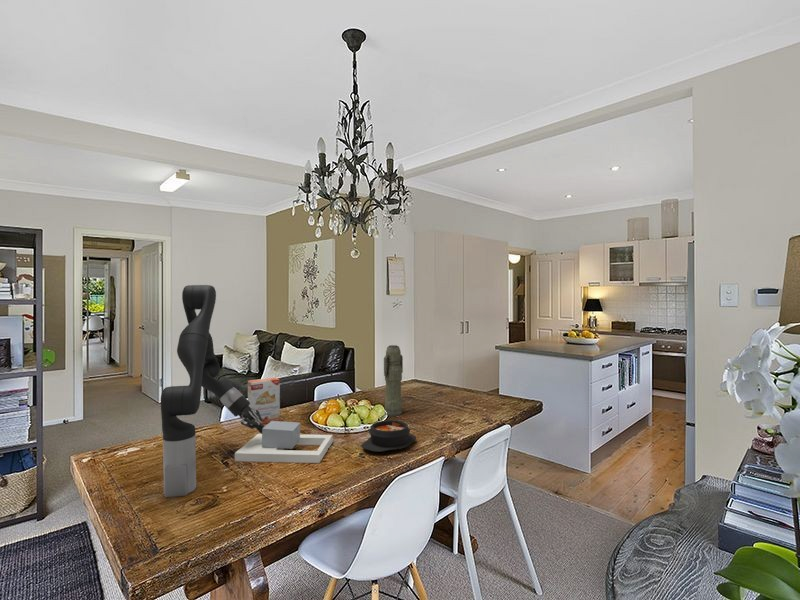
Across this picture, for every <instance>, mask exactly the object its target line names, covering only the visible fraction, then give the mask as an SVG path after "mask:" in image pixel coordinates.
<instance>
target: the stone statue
mask: <svg viewBox="0 0 800 600" xmlns="http://www.w3.org/2000/svg"><path fill="white" fill-rule="evenodd" d="M401 353H402V352H401V348H400V346H399V345H397V344H395V345H393V344H392V345H388V346H387V347H386V350H385V355H384V357H383V376H384V381H385V400H384V409H385V410H386V412H387V414H388V415H387V416H390V417H394V416H395V417H397V416H401V415H402V413H403V412H402V410H403V399H402V380H403V372H404V371H403V369H404V367H403V365H404V364H403V360H404V359H403V355H402V354H401Z"/></svg>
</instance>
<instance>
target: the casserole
mask: <svg viewBox="0 0 800 600" xmlns="http://www.w3.org/2000/svg"><path fill="white" fill-rule="evenodd" d="M368 433H369V434H370V437H368V439H367V440H366V441H364V442H362V443H361V447H362V448H363V449H365V450H367V451H371V452H373V453H374V452H375V453H382V452H384V453H385V452H387V451H397V449H398V450H401V449H405V448H408V447H409V446H411V445H412V443H413V442H414V441H415V440H416V439H417V436H416V435H414V434H413V433H411V429H410V428H409V426H408V424H407V423H406V422H404V421H401V420H395V419H394V420H392V419H390V420H389V419H388V420H380V421H376V422H374V423H372V424H371V425H370V428H369V429H368Z"/></svg>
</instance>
